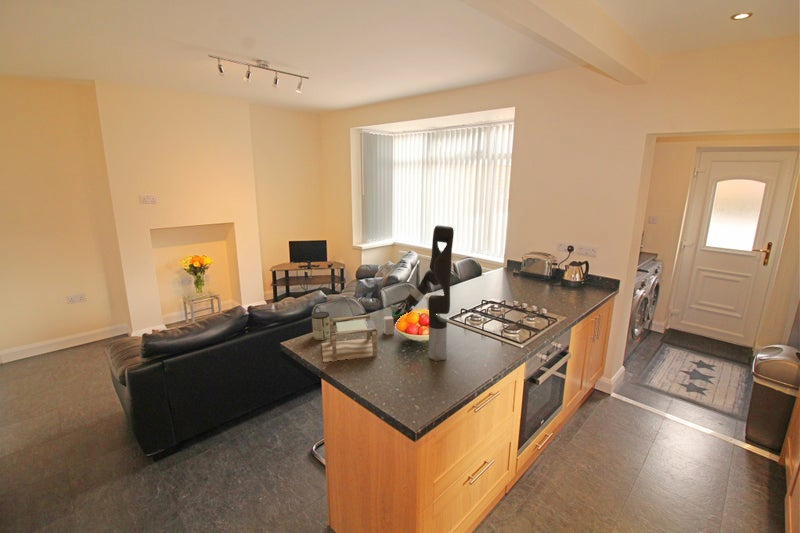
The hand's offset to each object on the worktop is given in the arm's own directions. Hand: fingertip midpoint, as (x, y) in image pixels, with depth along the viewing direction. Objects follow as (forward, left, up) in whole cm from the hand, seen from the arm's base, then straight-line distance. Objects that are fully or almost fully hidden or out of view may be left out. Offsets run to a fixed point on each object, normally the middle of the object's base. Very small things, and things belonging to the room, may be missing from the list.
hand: (397, 316), depth 221 cm
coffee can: (+6, +45, -10) cm, 47 cm away
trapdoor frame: (-17, +32, -10) cm, 38 cm away
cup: (+20, -31, -10) cm, 38 cm away
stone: (0, +5, -10) cm, 11 cm away
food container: (+20, -5, -10) cm, 23 cm away
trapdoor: (-17, +27, 0) cm, 32 cm away
